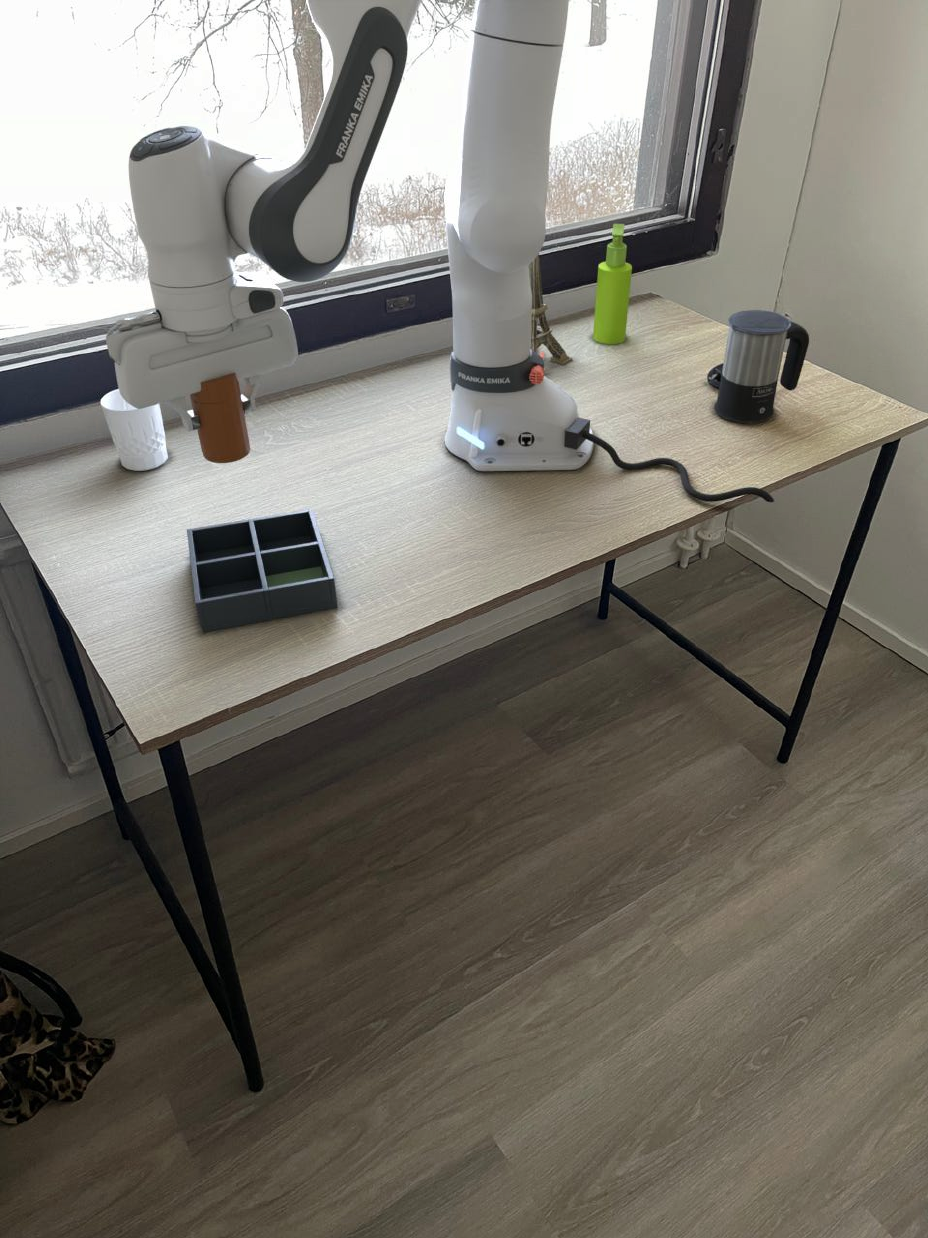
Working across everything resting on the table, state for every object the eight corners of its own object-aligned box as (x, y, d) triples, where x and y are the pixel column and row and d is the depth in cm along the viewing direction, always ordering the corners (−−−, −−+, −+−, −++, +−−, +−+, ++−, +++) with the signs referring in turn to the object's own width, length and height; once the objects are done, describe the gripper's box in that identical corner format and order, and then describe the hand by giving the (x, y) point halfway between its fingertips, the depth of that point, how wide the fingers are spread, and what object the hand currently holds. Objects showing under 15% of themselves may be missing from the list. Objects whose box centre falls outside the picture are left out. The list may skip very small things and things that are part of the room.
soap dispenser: (591, 345, 170) (600, 231, 158) (593, 330, 176) (602, 219, 163) (624, 347, 169) (635, 232, 157) (625, 332, 175) (636, 220, 162)
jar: (257, 442, 112) (243, 363, 106) (240, 465, 108) (224, 384, 102) (214, 438, 113) (198, 360, 107) (195, 461, 109) (177, 380, 103)
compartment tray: (316, 536, 123) (312, 508, 120) (337, 607, 111) (334, 578, 109) (193, 557, 120) (186, 529, 117) (202, 632, 108) (195, 603, 105)
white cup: (143, 478, 135) (127, 415, 129) (106, 464, 139) (88, 402, 132) (183, 455, 141) (169, 393, 134) (146, 442, 144) (130, 381, 138)
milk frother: (747, 430, 144) (765, 337, 135) (669, 396, 154) (681, 307, 144) (803, 404, 151) (824, 313, 142) (725, 372, 161) (740, 285, 151)
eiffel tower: (572, 359, 166) (581, 210, 150) (535, 379, 160) (540, 226, 144) (525, 344, 171) (529, 199, 155) (488, 362, 165) (488, 213, 149)
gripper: (112, 333, 93) (144, 457, 101) (295, 287, 102) (310, 404, 111) (90, 315, 97) (123, 435, 105) (269, 272, 106) (285, 386, 115)
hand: (220, 419), depth 108 cm, fingers closed on jar, 5 cm apart
